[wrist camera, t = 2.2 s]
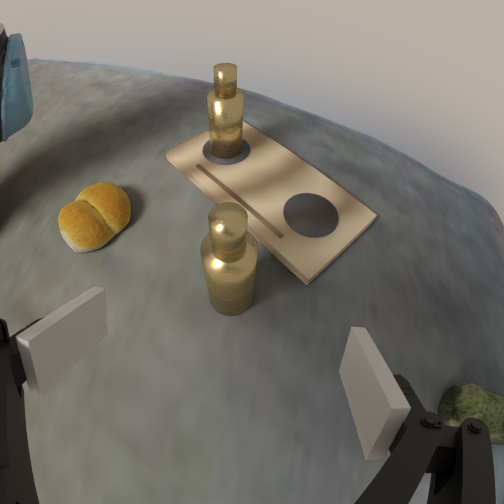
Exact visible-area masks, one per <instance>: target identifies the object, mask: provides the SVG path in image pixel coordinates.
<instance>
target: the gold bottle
mask: <svg viewBox="0 0 504 504" xmlns="http://www.w3.org/2000/svg"><path fill="white" fill-rule="evenodd" d="M207 101H208V119H209V136H210V151H211V153H212V154H213V155H214V156H215V157H217V158H221V159H230V158H234V157H236V156H238V155H239V154H240V153H241V152H242V137H243V103H244V93H243V92H242V91H241V90H240V89H238V88H237V66H236V65H235V64H231V63H221V64H217V65H215V66H214V89H213V90H211V91H209V92H208V94H207Z"/></svg>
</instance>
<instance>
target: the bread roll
mask: <svg viewBox="0 0 504 504" xmlns="http://www.w3.org/2000/svg"><path fill="white" fill-rule="evenodd" d="M130 216H131V205H130V201H129V198H128V196H127V194H126V193H125V192H124V191H123V189H121V188H120V187H119V186H117V185H115V184H113V183H108V182H102V183H97V184H94V185H92V186H89V187H86V188H85V189H84V190H83V191H82V192H81V193H80V194H79V195H78V197H77V198H76V200H75V201H73V202H70V203H68V204H67V205H65V206H64V207H63V208H62V209H61V212H60V214H59V217H58V224H59V228H60V232H61V236H62V237H63V239H64V240H65V241H66V243H67V244H68V245H69V246H70V247H71V248H72V249H73V250H74V251H75V252H76V253H85V252H89V251H93V250H97V249H99V248H101V247H102V246H104V245H105V244H106V243H107V242H109V241H110V240H111V239H112V238H113V237H114V236H115V235H116V234H118V233H119V232H120V231H121V230H122V229H123V228H124V227H125V226H126V225H127V224H128V223H129V221H130Z"/></svg>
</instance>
